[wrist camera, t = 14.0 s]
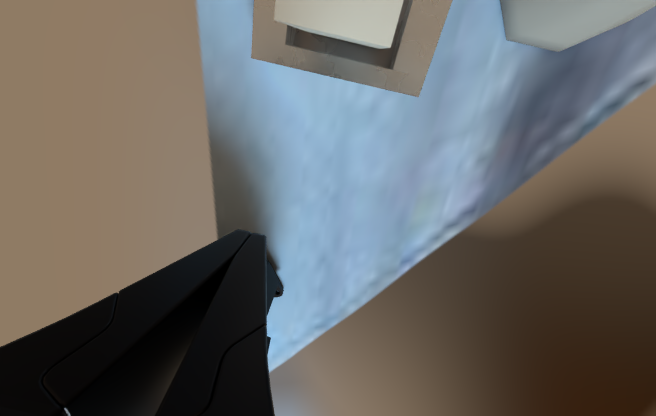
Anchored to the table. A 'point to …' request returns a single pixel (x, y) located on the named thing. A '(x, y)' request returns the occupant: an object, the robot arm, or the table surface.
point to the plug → (343, 19)
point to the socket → (356, 48)
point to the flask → (566, 20)
